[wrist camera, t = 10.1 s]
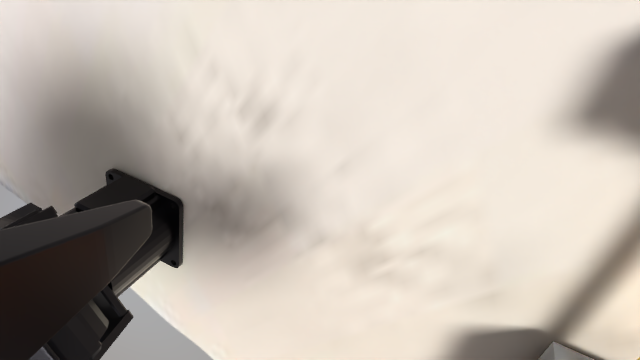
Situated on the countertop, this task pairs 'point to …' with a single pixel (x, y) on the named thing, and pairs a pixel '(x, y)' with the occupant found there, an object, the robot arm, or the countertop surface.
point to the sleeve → (561, 353)
